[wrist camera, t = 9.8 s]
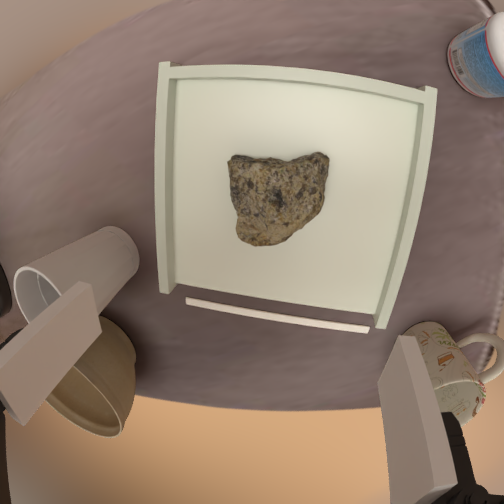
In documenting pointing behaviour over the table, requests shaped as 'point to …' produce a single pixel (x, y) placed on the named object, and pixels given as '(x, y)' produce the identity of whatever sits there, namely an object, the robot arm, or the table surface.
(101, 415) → the planter bowl
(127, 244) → the cup
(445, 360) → the mug
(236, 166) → the rock
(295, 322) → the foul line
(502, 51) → the pill bottle
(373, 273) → the white square tray
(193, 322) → the table surface
